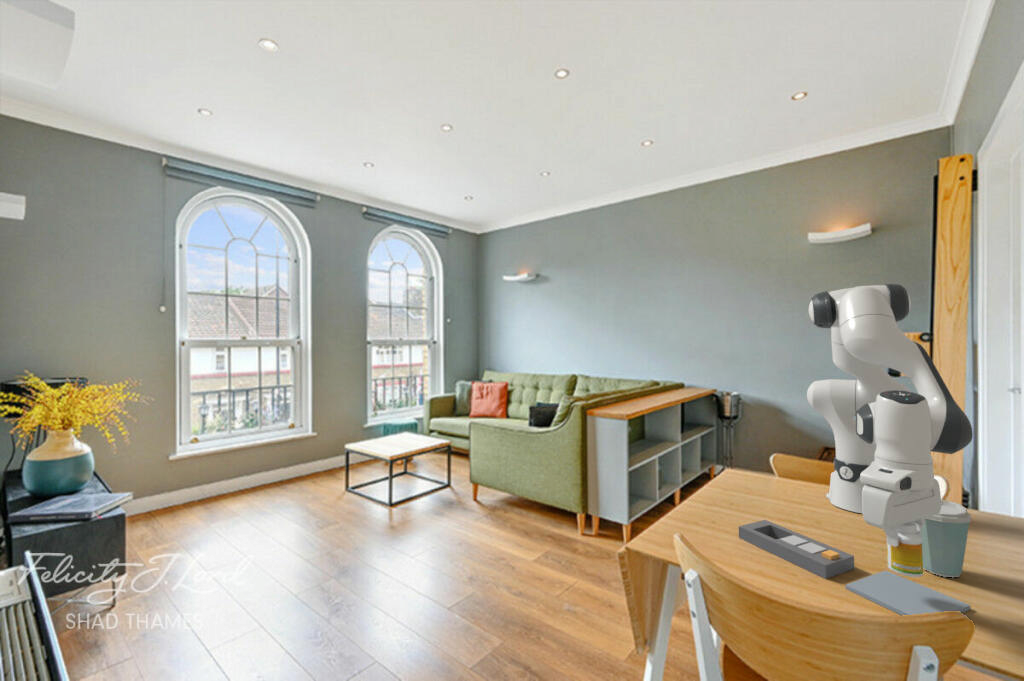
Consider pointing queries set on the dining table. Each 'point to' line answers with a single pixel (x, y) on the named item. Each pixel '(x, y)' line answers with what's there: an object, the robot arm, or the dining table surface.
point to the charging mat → (904, 595)
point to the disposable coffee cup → (945, 540)
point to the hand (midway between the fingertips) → (904, 541)
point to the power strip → (797, 548)
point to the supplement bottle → (906, 552)
